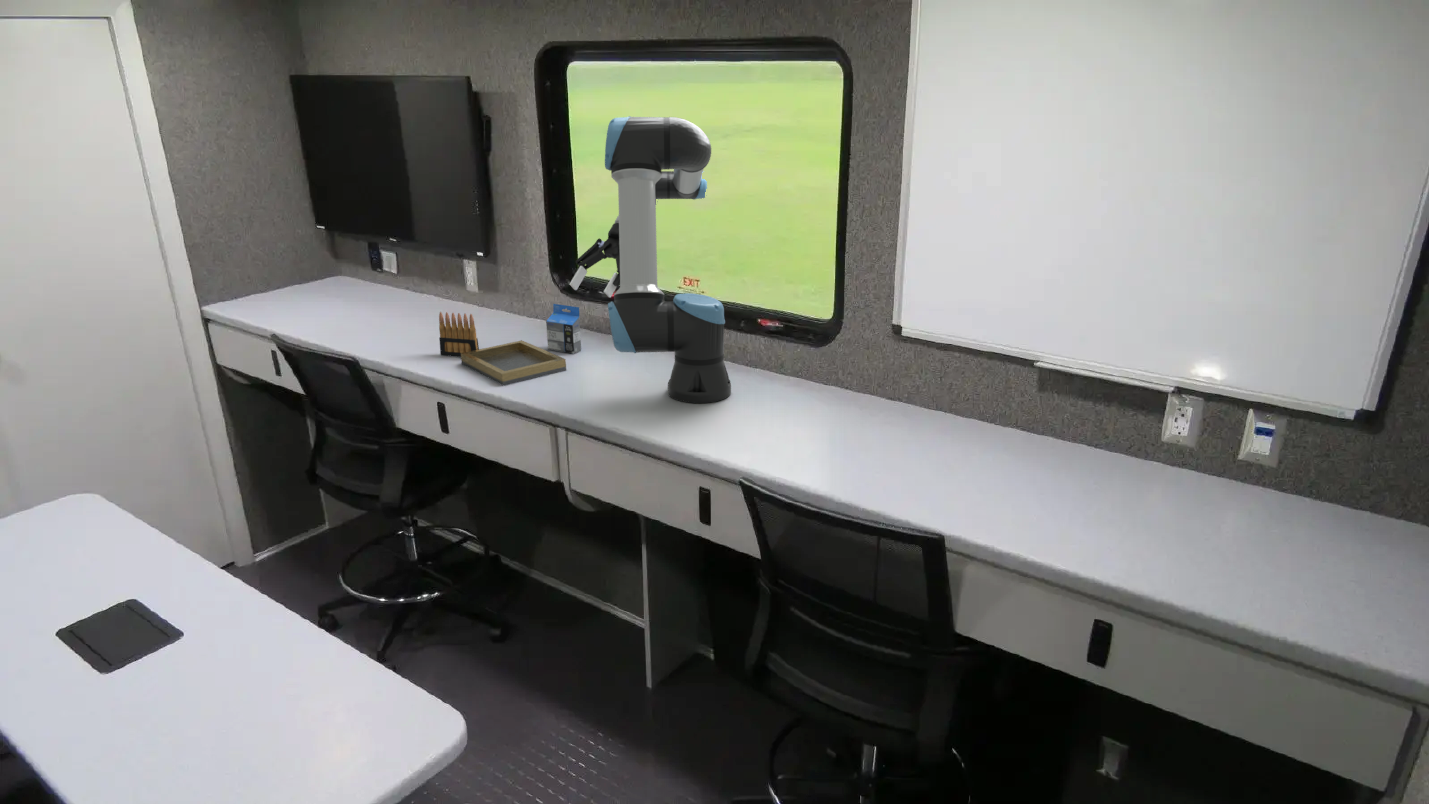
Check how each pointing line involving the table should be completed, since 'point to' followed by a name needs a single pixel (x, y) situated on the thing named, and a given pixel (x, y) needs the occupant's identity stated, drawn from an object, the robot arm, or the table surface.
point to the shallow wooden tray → (513, 362)
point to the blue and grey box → (564, 329)
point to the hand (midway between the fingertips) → (589, 291)
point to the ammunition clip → (457, 335)
